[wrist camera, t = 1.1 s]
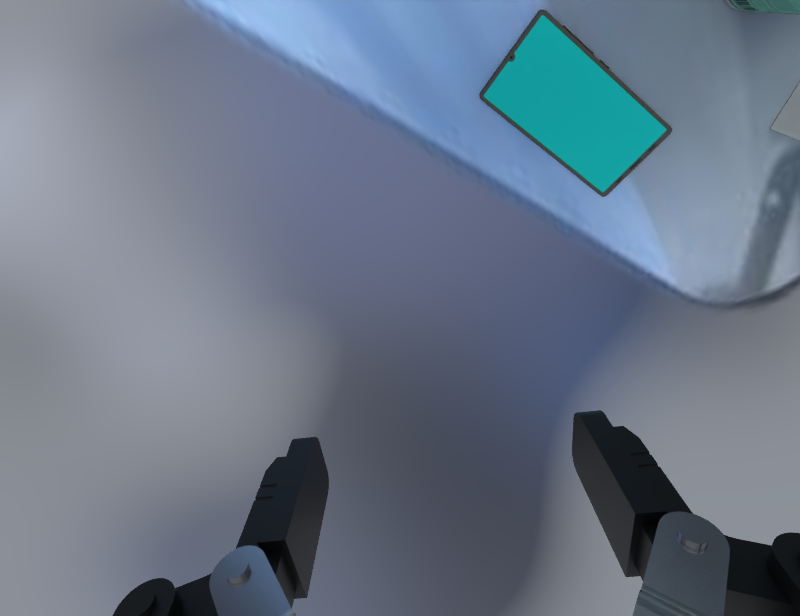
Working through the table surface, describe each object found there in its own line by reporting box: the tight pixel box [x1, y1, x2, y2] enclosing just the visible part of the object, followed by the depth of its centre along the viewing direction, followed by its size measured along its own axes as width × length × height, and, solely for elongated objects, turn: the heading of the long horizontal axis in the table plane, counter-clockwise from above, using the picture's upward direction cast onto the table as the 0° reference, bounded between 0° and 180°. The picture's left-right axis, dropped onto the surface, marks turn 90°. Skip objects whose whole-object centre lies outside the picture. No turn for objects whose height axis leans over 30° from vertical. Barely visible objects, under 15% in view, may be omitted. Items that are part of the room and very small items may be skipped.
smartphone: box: [480, 10, 672, 197], centre depth 35 cm, size 7×1×15 cm
